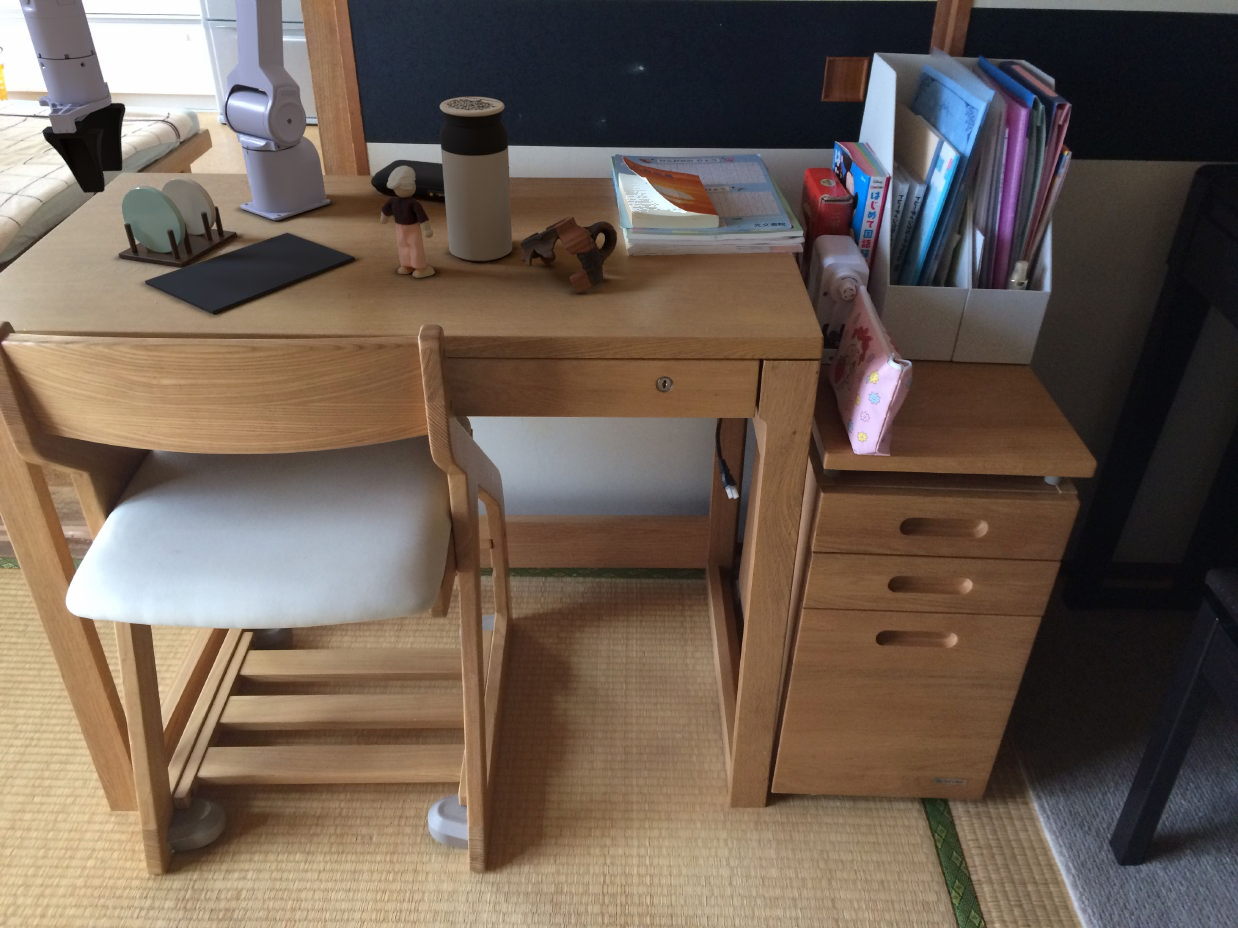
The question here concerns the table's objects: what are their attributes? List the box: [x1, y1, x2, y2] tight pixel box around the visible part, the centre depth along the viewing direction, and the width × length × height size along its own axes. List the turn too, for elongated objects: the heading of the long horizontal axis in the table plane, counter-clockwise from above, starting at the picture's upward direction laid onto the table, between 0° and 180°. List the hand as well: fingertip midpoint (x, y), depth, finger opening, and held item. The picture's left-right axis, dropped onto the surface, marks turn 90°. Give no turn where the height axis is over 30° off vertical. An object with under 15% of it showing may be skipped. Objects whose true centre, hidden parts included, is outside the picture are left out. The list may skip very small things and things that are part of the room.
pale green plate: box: [121, 185, 185, 253], centre depth 112 cm, size 1×8×8 cm, turn 75°
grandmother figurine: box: [379, 166, 435, 279], centre depth 109 cm, size 8×4×13 cm, turn 71°
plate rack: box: [118, 205, 238, 268], centre depth 116 cm, size 11×9×4 cm
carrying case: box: [370, 159, 445, 201], centre depth 136 cm, size 11×3×15 cm
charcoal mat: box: [144, 232, 356, 315], centre depth 111 cm, size 20×13×1 cm, turn 144°
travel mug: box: [439, 96, 513, 262], centre depth 113 cm, size 8×8×18 cm
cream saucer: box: [160, 176, 216, 235], centre depth 117 cm, size 1×7×7 cm, turn 75°
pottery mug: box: [519, 216, 618, 294], centre depth 112 cm, size 12×10×8 cm
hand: (103, 180), depth 107 cm, fingers open, 7 cm apart
